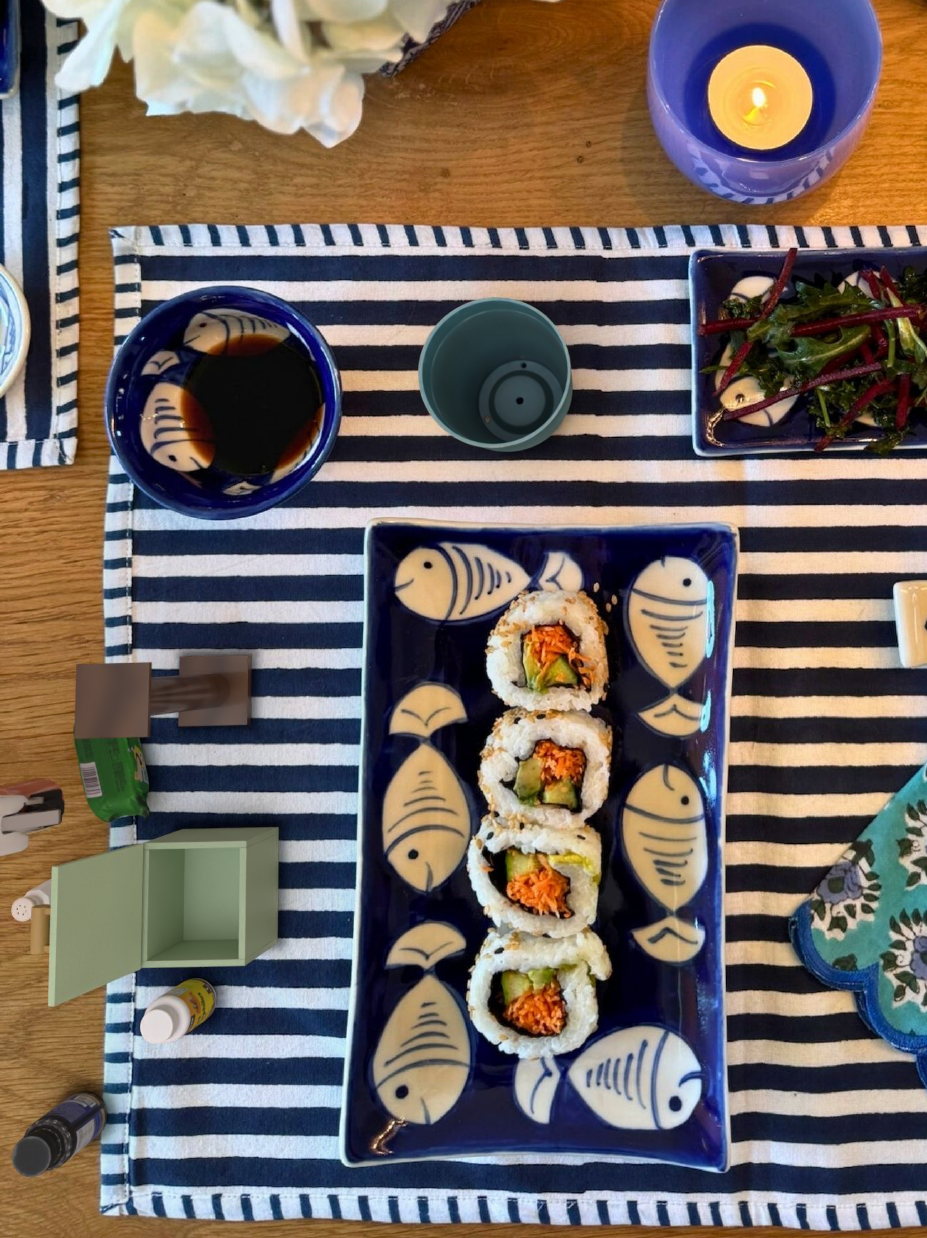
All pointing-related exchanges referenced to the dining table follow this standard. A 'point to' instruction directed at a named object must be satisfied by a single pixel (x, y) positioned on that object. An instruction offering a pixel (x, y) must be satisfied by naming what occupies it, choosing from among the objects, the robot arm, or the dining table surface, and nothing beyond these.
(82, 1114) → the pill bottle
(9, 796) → the robot arm
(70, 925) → the lid
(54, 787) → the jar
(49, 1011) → the dining table surface
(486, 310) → the flower pot
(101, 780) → the snack package
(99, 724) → the stand
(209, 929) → the chest
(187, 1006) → the supplement bottle
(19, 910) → the salt shaker
